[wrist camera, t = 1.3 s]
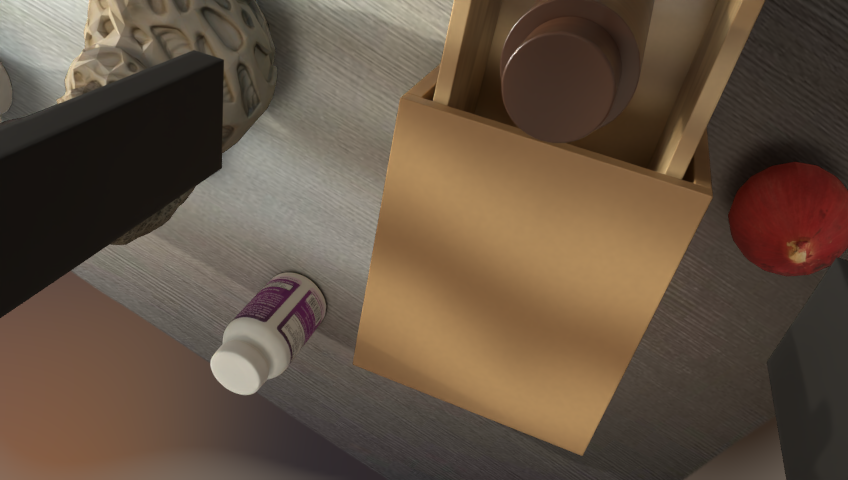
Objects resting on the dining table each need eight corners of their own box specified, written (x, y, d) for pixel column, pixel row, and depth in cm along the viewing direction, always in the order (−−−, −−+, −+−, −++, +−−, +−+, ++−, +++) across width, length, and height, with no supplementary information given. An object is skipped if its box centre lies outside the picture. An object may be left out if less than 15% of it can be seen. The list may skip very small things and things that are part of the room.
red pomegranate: (861, 204, 36) (900, 280, 30) (759, 250, 40) (774, 328, 33) (806, 121, 35) (834, 182, 29) (706, 176, 38) (710, 242, 32)
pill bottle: (262, 302, 56) (193, 376, 48) (280, 258, 53) (209, 329, 45) (317, 335, 55) (256, 415, 48) (337, 293, 52) (276, 371, 44)
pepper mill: (670, -38, 32) (661, 36, 19) (634, 57, 35) (605, 180, 22) (575, -62, 33) (503, -8, 20) (547, 32, 36) (468, 135, 22)
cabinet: (462, 44, 39) (400, 97, 31) (706, 116, 37) (713, 196, 28) (410, 274, 49) (352, 364, 40) (601, 344, 47) (582, 456, 38)
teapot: (158, -153, 40) (-77, -156, 27) (330, -96, 38) (161, -72, 26) (156, 155, 52) (-9, 249, 39) (287, 208, 50) (157, 324, 38)
